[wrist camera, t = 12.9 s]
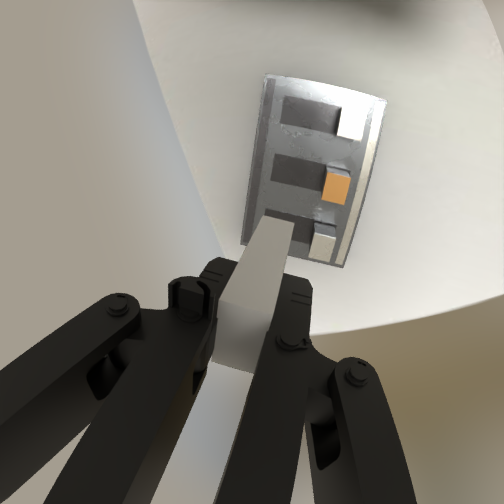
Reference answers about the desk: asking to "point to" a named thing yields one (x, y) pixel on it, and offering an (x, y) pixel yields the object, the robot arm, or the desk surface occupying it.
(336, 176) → the toggle
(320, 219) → the panel
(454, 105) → the desk surface
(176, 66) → the desk surface
